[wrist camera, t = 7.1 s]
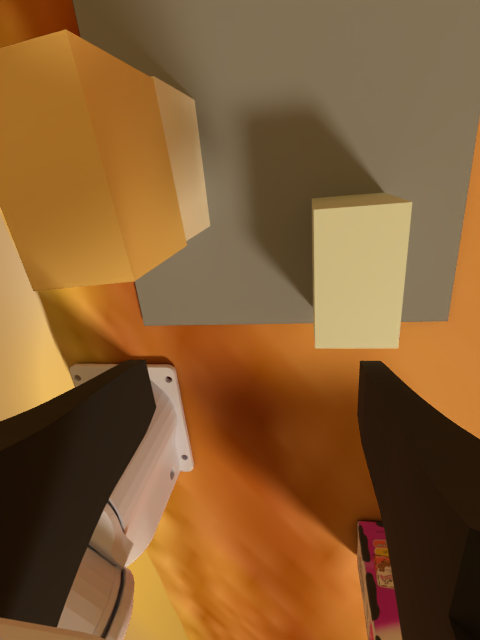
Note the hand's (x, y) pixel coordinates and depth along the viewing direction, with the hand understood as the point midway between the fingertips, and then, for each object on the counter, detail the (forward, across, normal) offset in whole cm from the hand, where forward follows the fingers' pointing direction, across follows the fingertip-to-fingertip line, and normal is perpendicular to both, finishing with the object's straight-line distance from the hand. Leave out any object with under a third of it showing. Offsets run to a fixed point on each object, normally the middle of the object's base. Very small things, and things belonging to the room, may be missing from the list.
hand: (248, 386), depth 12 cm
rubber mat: (+10, 0, -7) cm, 12 cm away
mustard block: (+4, +5, -7) cm, 10 cm away
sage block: (+10, -4, -2) cm, 10 cm away
